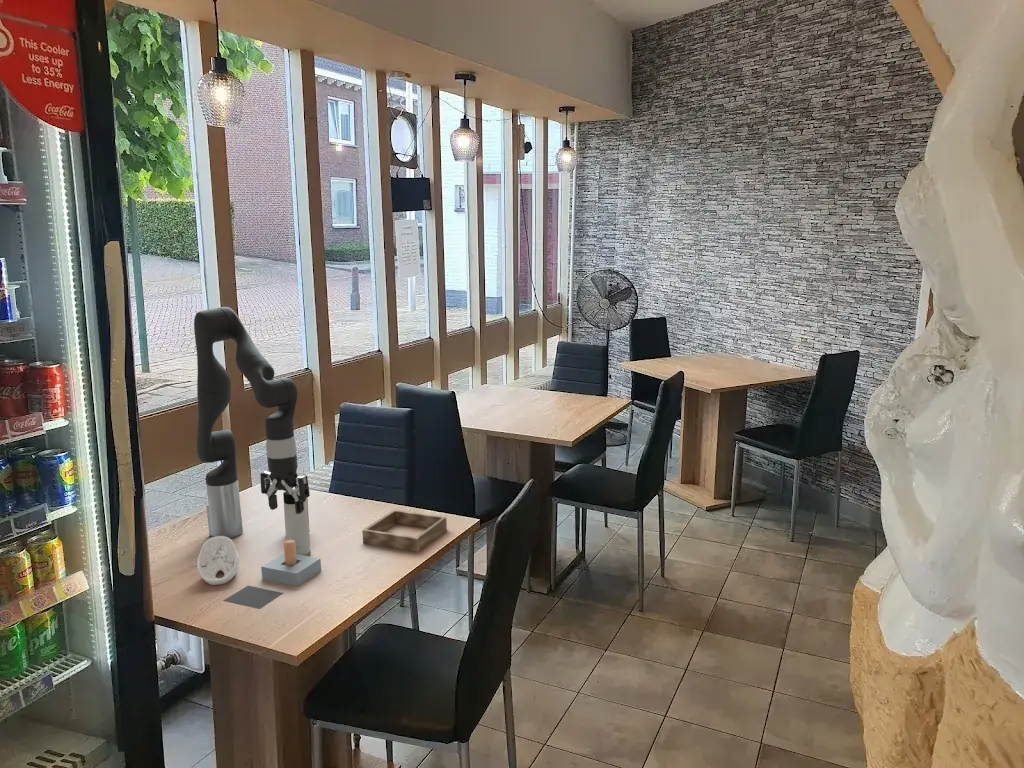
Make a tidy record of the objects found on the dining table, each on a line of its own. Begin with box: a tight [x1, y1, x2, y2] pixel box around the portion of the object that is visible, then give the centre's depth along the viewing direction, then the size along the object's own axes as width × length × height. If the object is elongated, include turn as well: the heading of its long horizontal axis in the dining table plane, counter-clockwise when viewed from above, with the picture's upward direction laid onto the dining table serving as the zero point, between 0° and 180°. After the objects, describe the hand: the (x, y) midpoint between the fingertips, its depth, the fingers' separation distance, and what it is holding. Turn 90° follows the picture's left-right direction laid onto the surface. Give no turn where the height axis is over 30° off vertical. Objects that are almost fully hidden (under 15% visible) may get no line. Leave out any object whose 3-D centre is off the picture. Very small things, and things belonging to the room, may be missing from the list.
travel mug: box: [282, 491, 312, 556], centre depth 222 cm, size 6×7×20 cm
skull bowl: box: [196, 536, 240, 586], centre depth 210 cm, size 10×14×12 cm
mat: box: [222, 585, 284, 610], centre depth 198 cm, size 12×9×1 cm
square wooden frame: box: [361, 509, 448, 553], centre depth 235 cm, size 19×18×4 cm
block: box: [260, 552, 322, 587], centre depth 210 cm, size 12×10×4 cm
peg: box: [283, 539, 297, 566], centre depth 209 cm, size 3×3×10 cm
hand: (286, 510), depth 206 cm, fingers open, 8 cm apart
